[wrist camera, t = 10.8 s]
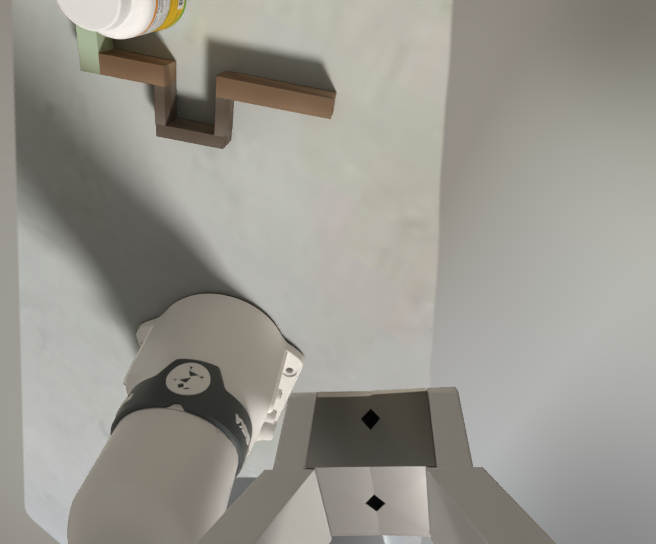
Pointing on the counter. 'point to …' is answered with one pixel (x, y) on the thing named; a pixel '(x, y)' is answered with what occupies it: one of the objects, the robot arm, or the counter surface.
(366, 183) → the counter surface
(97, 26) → the supplement bottle
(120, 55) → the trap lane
